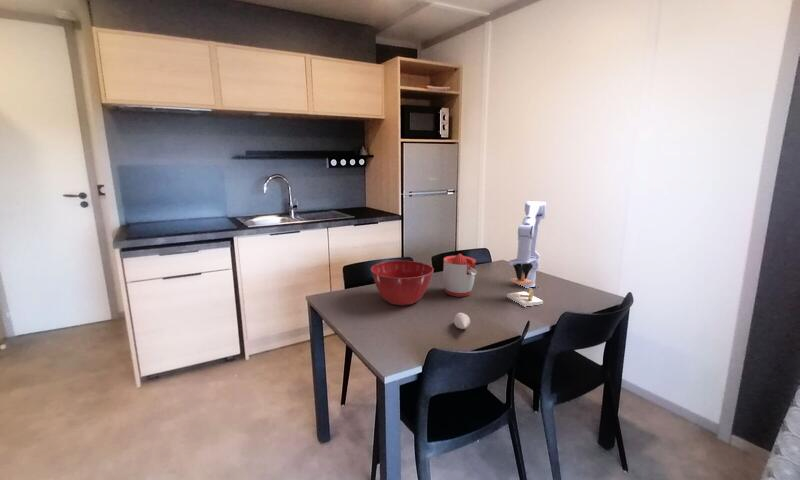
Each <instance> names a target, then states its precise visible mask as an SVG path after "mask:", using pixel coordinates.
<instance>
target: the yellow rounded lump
mask: <svg viewBox="0 0 800 480" xmlns="http://www.w3.org/2000/svg"><path fill="white" fill-rule="evenodd" d="M528 293H529V295H521V294H520V297H528V300H529V301H532V300H533V296H534V288H528Z"/></svg>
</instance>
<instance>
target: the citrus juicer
mask: <svg viewBox="0 0 800 480" xmlns="http://www.w3.org/2000/svg"><path fill="white" fill-rule="evenodd" d="M442 260H443V271H442V272H443V273H442V277H443V278H442V281H443V285H444V286H443V287H444V290H445V293H446V294H447V295H449V296H454V297H457V298H460V297H467V296H469V295H470V294H471V292H472V290H473V287H474V283H475V277H476V276H475V275H477V273H478V271H477V270H476V263H477V260H476V259H475V258H473V257H470V256H466V255H463V254H462V253H458V254H457V255H447V256H445V257H444V258H443V259H442Z"/></svg>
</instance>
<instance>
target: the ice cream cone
mask: <svg viewBox="0 0 800 480" xmlns="http://www.w3.org/2000/svg"><path fill="white" fill-rule="evenodd" d="M453 322H454V325H455V327H456V328H457V329H460V330H465V329H467V328H468V327H469V326H470V324H471V319H470V317H469V315H468V314H467V313H464V312H458V313H456V314H455V317H454V321H453Z"/></svg>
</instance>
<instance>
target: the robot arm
mask: <svg viewBox="0 0 800 480" xmlns="http://www.w3.org/2000/svg"><path fill="white" fill-rule="evenodd" d="M546 213H547V202H546V201H533V200H532V201H531V200H526V201H525V203H524V214H525V216H524V217H523V219H522V222H521V224H520V225H519V226H518V229H517V241H518V243H517V253H516V254H517V255H516V258H515V259H510V260H508V265H509V266H513V268H514V270H515V271H514V272H515V275H516V278H517V279H519V280H521V276H522V272H524V273H525V279H528V280H530V281H533V283H532V284H528V285H521V286H520V287H522V286H523V287H522V288H524V287H525V288H524V289H526V288H527V289H529V287H534V286H535V285H536V277H537V276H536V275H537V271H538V270H540V267H541V255H540V253H538V252H537V243H538V242H537V241H538V235H539V228H540V227H539V226H540V223H541V221H542V220H543V219H545V218H546Z"/></svg>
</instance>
